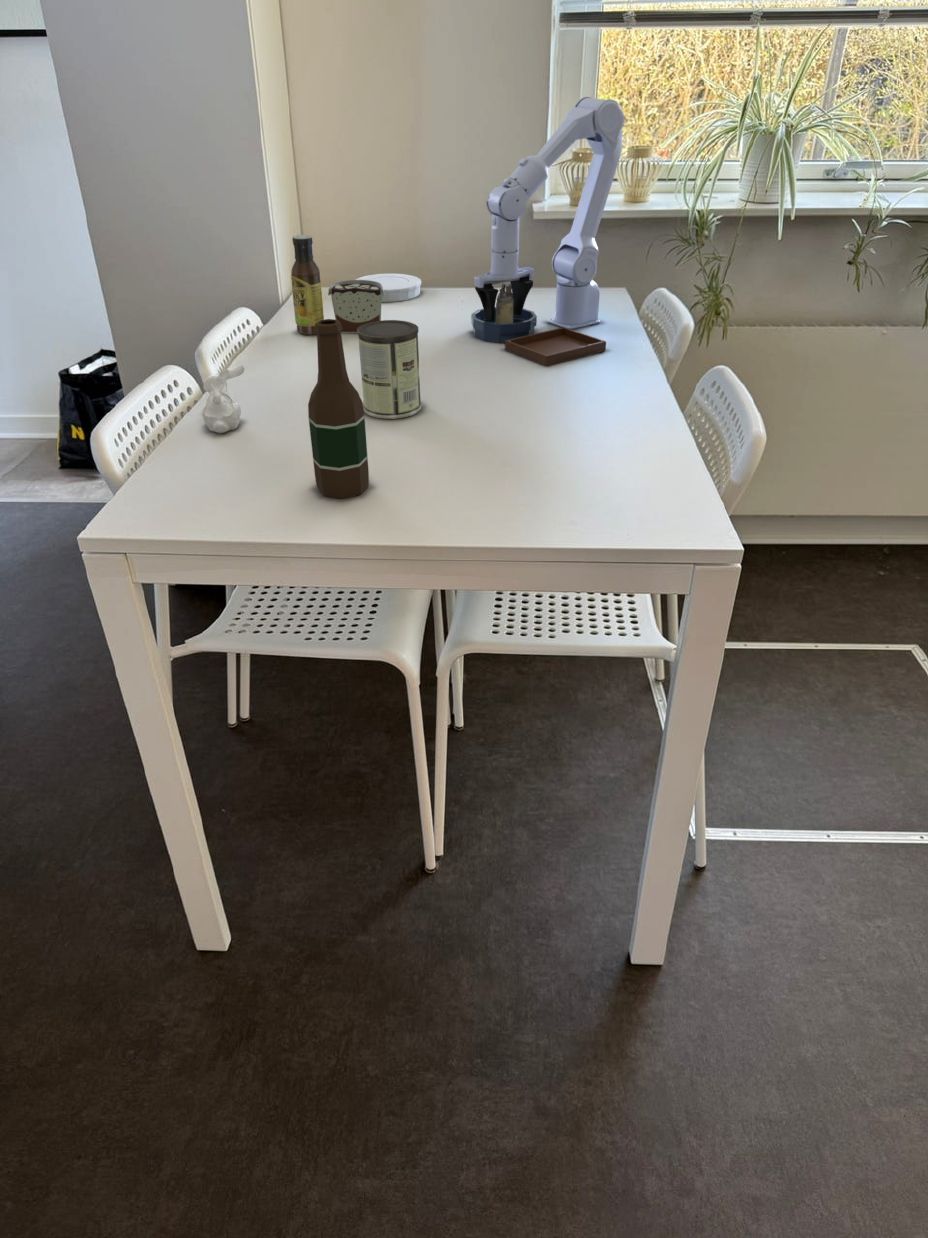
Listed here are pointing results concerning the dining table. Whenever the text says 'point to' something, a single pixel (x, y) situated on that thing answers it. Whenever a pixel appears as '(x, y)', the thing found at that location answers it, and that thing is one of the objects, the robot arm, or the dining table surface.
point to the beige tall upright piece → (504, 305)
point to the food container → (356, 303)
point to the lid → (396, 286)
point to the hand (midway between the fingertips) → (503, 316)
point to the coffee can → (390, 368)
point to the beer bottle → (336, 420)
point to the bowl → (503, 326)
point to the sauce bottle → (306, 286)
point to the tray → (555, 346)
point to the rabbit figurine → (221, 402)
